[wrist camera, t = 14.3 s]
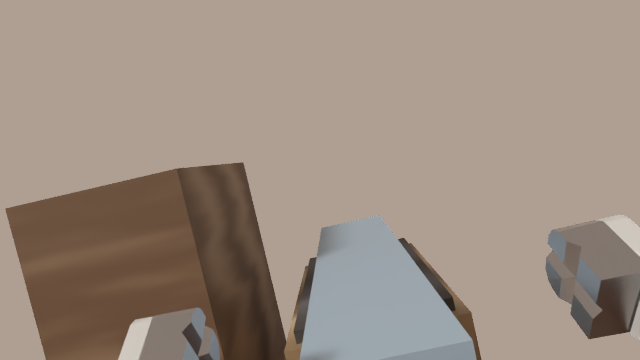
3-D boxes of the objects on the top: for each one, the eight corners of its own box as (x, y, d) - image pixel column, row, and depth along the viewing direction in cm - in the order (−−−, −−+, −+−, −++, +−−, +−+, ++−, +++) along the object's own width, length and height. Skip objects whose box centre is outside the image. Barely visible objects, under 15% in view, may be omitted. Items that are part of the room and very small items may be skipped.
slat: (487, 408, 11) (472, 340, 11) (312, 443, 11) (296, 376, 11) (384, 238, 33) (379, 215, 33) (326, 250, 33) (321, 228, 33)
